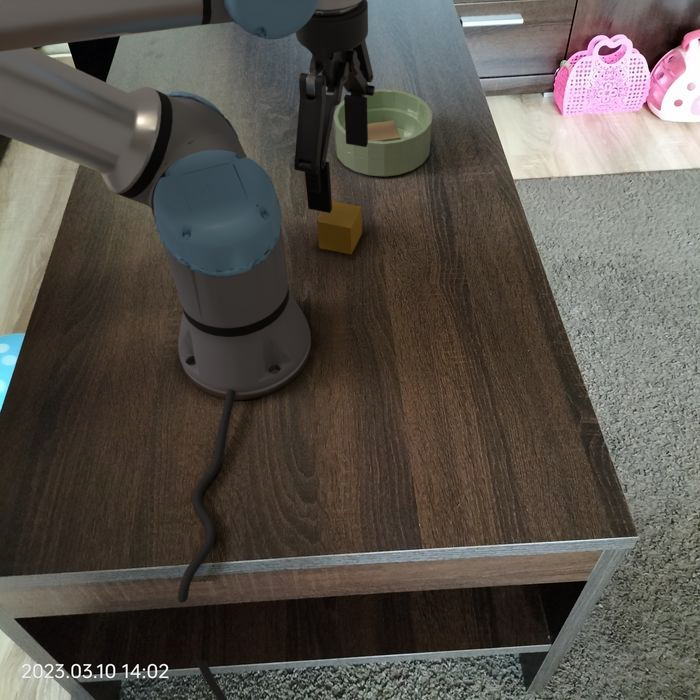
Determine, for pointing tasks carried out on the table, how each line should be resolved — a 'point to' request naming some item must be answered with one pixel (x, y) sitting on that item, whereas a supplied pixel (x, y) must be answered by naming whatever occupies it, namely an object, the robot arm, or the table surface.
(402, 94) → the pale green pet bowl
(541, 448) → the table surface
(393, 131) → the beech block
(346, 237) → the mustard block
